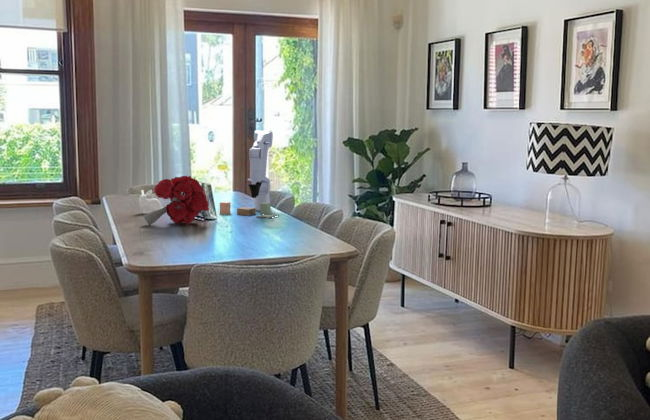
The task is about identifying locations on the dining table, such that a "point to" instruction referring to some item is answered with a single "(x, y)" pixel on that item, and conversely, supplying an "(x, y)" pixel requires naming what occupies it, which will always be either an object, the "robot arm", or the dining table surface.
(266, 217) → the card
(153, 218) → the bouquet
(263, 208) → the sage block
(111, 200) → the dining table surface
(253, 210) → the walnut slab
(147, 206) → the rabbit
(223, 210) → the terracotta block
